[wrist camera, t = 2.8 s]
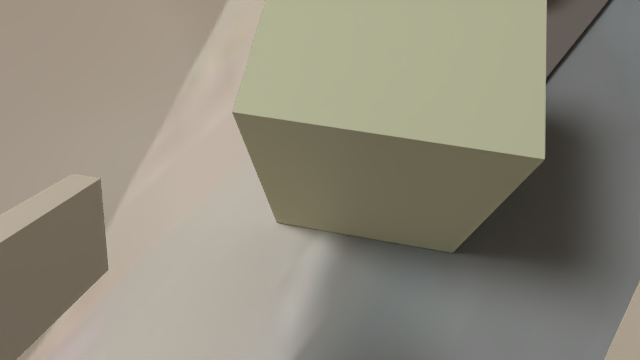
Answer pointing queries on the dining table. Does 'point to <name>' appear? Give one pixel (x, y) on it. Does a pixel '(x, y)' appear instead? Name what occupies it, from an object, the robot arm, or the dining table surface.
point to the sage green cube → (394, 113)
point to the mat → (567, 26)
